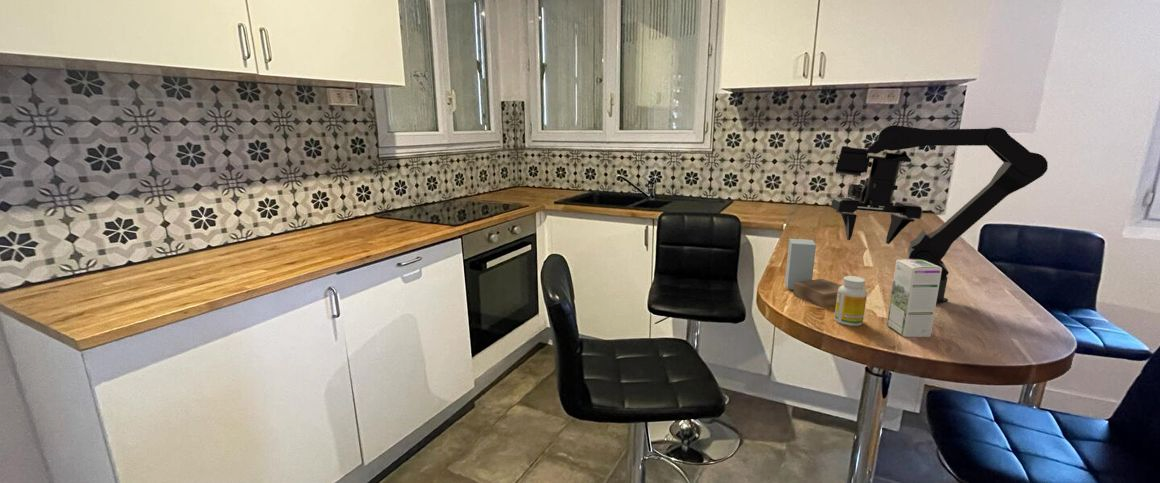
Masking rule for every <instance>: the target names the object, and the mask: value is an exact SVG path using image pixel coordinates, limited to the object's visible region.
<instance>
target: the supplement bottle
mask: <svg viewBox="0 0 1160 483" xmlns="http://www.w3.org/2000/svg"><path fill="white" fill-rule="evenodd" d="M865 287H866V279H865V278H863V277H860V276H855V275H845V276H844V277H843V280H842V286H840V287H839V289H838V294H837V301H836V305H835V307H834V308H835V309H834V317H833V318H834V320H835V321H836V322H837V323H839V324H841V325H844V326H849V327H858V326H861V325H863V321H864V317H865V310H866V305H867V298H868V292H867V290H866V289H865Z"/></svg>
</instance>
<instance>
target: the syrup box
mask: <svg viewBox="0 0 1160 483" xmlns="http://www.w3.org/2000/svg"><path fill="white" fill-rule="evenodd" d="M941 272H942V267H939V266H937V265H934V264H932V263H929V262H927V261H924V260H920V259H909V258H905V259H896V261H895V267H894V273H893V274H894V275H893V280H892V286H891V287H892V288H891V293H890V301H889V309H888V314H887V315H888V316H887V323H886V326H887V327H888V328H890V329H891V330H893V331H894V332H896V333H897V334H899V335H900V336H902V337H904V338H931V337H932V330H933V325H934V318H935V312H936V308H937V307H936V306H937V303H936V302H937V296H938V290H939V284H940V278H941Z"/></svg>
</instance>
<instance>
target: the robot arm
mask: <svg viewBox="0 0 1160 483" xmlns="http://www.w3.org/2000/svg"><path fill="white" fill-rule="evenodd" d="M926 146H928V147H929V146H930V147H931V146H932V147H933V146H934V147H935V146H937V147H938V146H939V147H940V146H942V147H943V146H949V147H950V146H954V147H955V146H956V147H957V146H959V147H960V146H961V147H963V146H970V147H971V146H978V147H979V146H986V147H988V148H989V149H990V150H991V152H993V153H994V154H995V156H997V158H999V160H1001V162H1002V164H1001V165H1000V167H999V168H997V171H996V172H995V174H994V176H993V177H992V178H991V180H990V182H989V183H988V184H987V185H985V186H984V187H983V188H982V189H981V190H980V191H979V192H978V193H977V194H975V195H974V196H973V197H972V198H971V199H970V200H969V201H967V203H965V204H964V205H963V206H962V207H961V208H959V210H958V211H956V212H955V213H954V214H953V215H952V216H950V217H949V219H947V220H946V221H945V222H944V223H943V224H942V225H941V226H939V227H938V228H937V229H935V230H934V231H932V232H929V233H927V232H926V230H922V231H921V232H920V233H919V234H918V236H917V237H916V238H914V239H912V240H910V241H909V246H908V248H907V251H906V252H907V253H906V254H907V259H920V260H924V261H927V262H929V263H932V264H934V265H937V266H939V267H942V272H941V278H940V284H939V290H938V296H937V302H936V304H938V303H943V302H944V303H945V302H948V301H949V298H947V297H945V293H946V289H947V288H946V287H947V282H948V277H949V276H948V275H949V270H948V268H947V267H946V264H945V263H944V262H943V261H942V259H943V258H944V256H946V254H947V253H948V251H949V249H950V248H951V246H952V245H953V243H954V242H955V241H956V240H958V238H960V237H961V236H963V234H964V233H966V232H967V231H968V230H969V229H970V228H971V227H973V226H975V224H977V223H978V221H980V220H981V219H982V218H983V217H984V216H985V215H987V214H988V213H989V212H990V211H991V210H992V209H993V208H995V207H996V206H997V205H998V204H1000V202H1002V201H1003V200H1004V199H1005V198H1007V196H1009V195H1011V194H1013V193H1015V192H1017V191H1019V190H1021V189H1022V188H1026V187H1027V186H1028V185H1031V183H1032V184H1033V182H1034V181H1037V180H1038V179H1040V178H1041V177H1042V176H1044V174H1045V173H1046V172H1047V171H1048V168H1049V167H1048V160H1047V159H1046V157H1044V156H1043V155H1042V154H1039V153H1036V152H1032V151H1029V150H1028V149H1027V147H1025V146H1024V145H1023V144H1021V143H1020V142H1018V141H1017V140H1016V139H1015V138H1013V137H1012V136H1011V135H1010V134H1009V133H1008V132H1007V130H1006V129H1004V128H1003V127H997V126H995V127H994V126H993V127H988V128H945V129H944V128H942V129H941V128H938V129H937V128H934V129H933V128H931V129H926V128H925V129H924V128H918V127H912V126H905V125H897V124H892V125H891V124H890V125H888V126H887V125H886V126H885V127H884V128H882V129H881V130H880V131H879V133H878V135H877V139H876V140H875V141H874V142H873V143H872V144H869V145H868V147H867V148H862V147H861V148H860V147H851V146H849V145H848V146H847V145H846V146H845V145H842V146H841V147H840V149H841V150H840V153H839V157H838V159H837V162H836V166H835V167H836V168H835V173H834V174H836V175H847V176H854V177H861V176H862V174H865V173H868V168H869V164H870V160H871V159H872V162H871V167H870V172H869V176H868V180H865V182H864V184H863V187H860V184H856V183H855V184H854V183H851V184H849V185H848V189H847V197H841V196H840V197H839V196H835V197H834V198H833V199H832V201H831V204H830V208H831V209H833V210H834V211H836V213H839V214H840V215H841V217H842V221H843V224H844V230H845V236H846V240H847V241H851V239H852V236H853V233H854V228H855V225H856V220H857V216H858V215H857V214H856V213H855V212H857V211H868V212H869V211H871V212H880V213H890V224H889V227H888V231H887V234H886V238H885V243H886V244H888V245H890V244H891V243H892V242H893V240H895V239H896V237H897V236H898V235H899V233H900V232H902V230H904V228H905V227H907V225H909V224H910V223H914V222H915V219H918V220H921V219H922V217H923V212H924V211H923V208H922V207H921V205H920V206H919V205H916V204H914V203H911V202H902V201H901V202H899V201H898V202H897V201H896V202H895V203H894V202H892V201H893V197H894V196H893V195H894V193H895V191H897V190H898V187H899V186H898V185H897V179H898V176H899V171H900V167H901V164H902V163H903V162H904V163H911V161H912V159H911V158H910V157H909V155H908V154H907V151H906V150H908V149H912V148H913V149H914V148H919V147H926ZM900 150H903V151H902V152H900V153H895V152H893V151H900ZM884 151H891V152H885V154H884V156H880V155H877V154H880V153H882V152H884ZM869 154H873V155H869ZM874 154H875V155H874Z"/></svg>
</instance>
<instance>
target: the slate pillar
mask: <svg viewBox="0 0 1160 483" xmlns="http://www.w3.org/2000/svg"><path fill="white" fill-rule="evenodd" d="M787 247H788V248H787V258H786V259H787V260H786V266H785V267H786V268H785V278H784V284H785V286H786V287H785V288H786V289H787V290H793V291H794V283H796V282H803V281H810V280H813V275H814V266H815V258H816V249H817V244H816V243H815V241H814V240H813V239H803V238H802V239H801V238H789V239H788V246H787Z"/></svg>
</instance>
